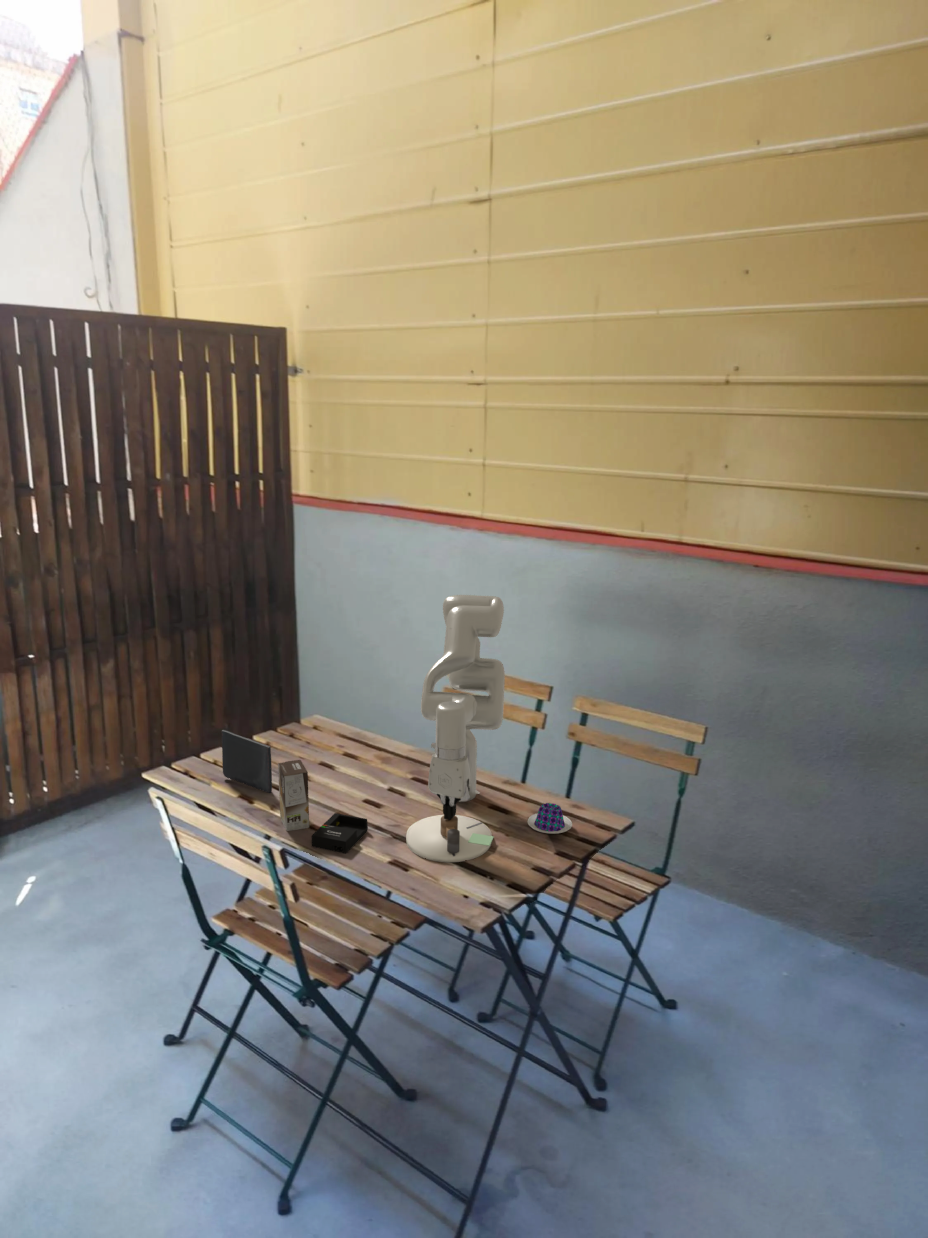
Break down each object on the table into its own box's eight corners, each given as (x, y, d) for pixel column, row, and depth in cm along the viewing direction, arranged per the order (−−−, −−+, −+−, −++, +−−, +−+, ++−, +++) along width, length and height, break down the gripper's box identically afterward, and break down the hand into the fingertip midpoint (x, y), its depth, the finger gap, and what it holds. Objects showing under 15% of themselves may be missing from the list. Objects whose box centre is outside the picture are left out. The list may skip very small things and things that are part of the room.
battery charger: (346, 856, 206) (345, 842, 205) (311, 849, 209) (311, 835, 208) (367, 832, 218) (367, 818, 217) (335, 826, 221) (334, 812, 220)
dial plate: (403, 821, 223) (403, 816, 223) (485, 818, 226) (485, 812, 226) (409, 864, 202) (409, 858, 202) (499, 860, 205) (499, 854, 204)
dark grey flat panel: (275, 792, 239) (273, 743, 235) (270, 795, 237) (268, 745, 234) (227, 775, 249) (225, 728, 246) (222, 778, 248) (220, 730, 244)
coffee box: (310, 828, 218) (308, 772, 214) (286, 833, 216) (283, 776, 212) (302, 813, 227) (300, 759, 223) (279, 817, 224) (276, 762, 220)
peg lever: (439, 829, 215) (439, 811, 214) (456, 828, 216) (456, 810, 215) (445, 854, 203) (445, 835, 202) (462, 853, 204) (463, 834, 202)
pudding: (578, 821, 226) (579, 803, 224) (562, 840, 215) (562, 822, 214) (538, 811, 231) (538, 793, 230) (520, 829, 221) (520, 811, 220)
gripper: (417, 750, 208) (416, 817, 212) (471, 762, 202) (469, 830, 206) (431, 740, 214) (430, 805, 219) (483, 751, 208) (482, 817, 213)
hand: (449, 817), depth 213 cm, fingers closed
